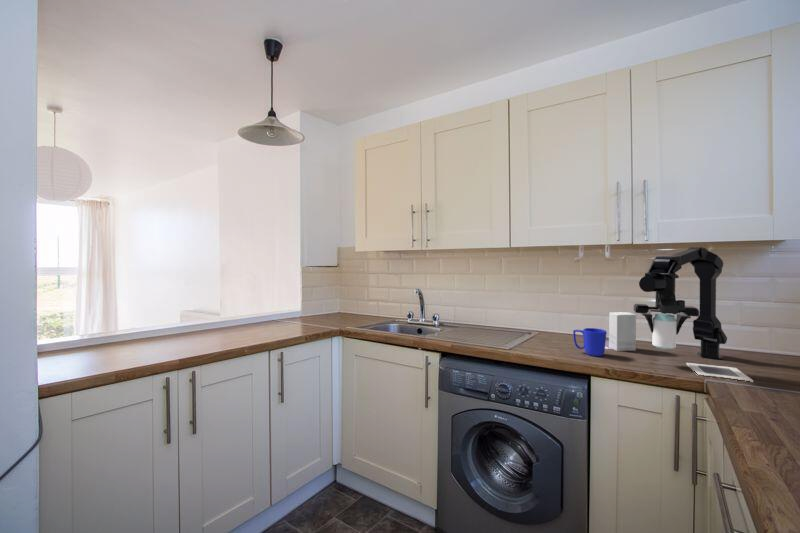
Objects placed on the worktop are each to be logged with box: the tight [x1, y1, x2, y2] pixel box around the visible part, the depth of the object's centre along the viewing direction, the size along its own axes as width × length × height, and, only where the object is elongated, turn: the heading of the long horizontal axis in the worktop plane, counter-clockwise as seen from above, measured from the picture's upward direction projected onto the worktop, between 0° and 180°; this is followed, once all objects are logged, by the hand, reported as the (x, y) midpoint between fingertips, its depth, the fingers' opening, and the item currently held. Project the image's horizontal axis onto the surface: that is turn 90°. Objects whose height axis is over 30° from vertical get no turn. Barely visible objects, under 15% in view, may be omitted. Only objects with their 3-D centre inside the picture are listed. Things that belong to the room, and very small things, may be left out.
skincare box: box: [608, 311, 637, 352], centre depth 155 cm, size 8×7×16 cm
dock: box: [685, 362, 754, 383], centre depth 125 cm, size 14×14×1 cm
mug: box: [572, 327, 608, 357], centre depth 148 cm, size 8×12×10 cm
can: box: [651, 313, 677, 350], centre depth 133 cm, size 7×7×12 cm
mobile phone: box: [605, 339, 614, 350], centre depth 162 cm, size 8×1×15 cm
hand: (664, 333), depth 133 cm, fingers closed on can, 7 cm apart
